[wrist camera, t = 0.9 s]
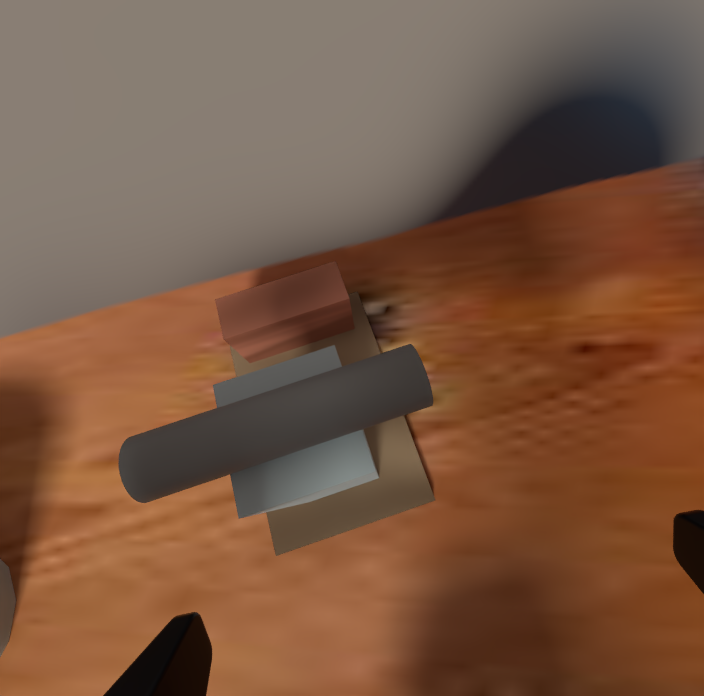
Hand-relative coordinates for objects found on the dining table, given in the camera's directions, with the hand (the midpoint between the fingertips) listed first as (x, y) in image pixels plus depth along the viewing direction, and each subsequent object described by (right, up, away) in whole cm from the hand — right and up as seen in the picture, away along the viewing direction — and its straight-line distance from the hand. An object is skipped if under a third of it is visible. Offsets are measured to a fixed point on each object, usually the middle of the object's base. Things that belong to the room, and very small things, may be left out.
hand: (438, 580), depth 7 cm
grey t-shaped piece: (-3, -2, +15) cm, 16 cm away
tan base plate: (-3, 0, +16) cm, 17 cm away
